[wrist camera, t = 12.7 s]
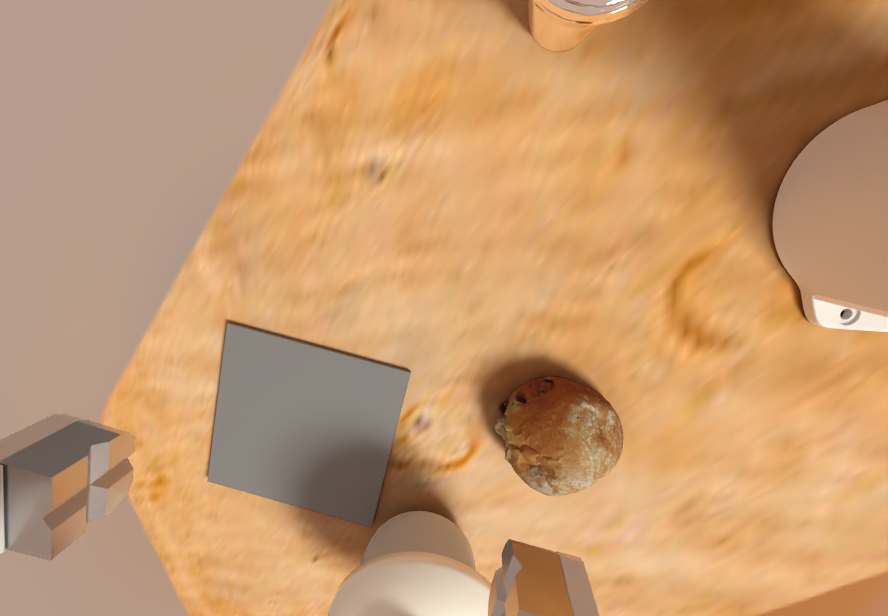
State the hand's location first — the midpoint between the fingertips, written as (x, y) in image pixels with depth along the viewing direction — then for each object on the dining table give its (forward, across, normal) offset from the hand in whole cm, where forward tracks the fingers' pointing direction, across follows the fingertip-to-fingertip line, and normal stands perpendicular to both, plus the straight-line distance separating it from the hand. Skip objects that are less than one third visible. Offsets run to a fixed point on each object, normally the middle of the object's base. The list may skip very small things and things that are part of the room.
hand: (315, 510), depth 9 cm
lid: (+19, -6, +26) cm, 33 cm away
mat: (+27, +9, +17) cm, 33 cm away
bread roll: (+28, -13, +10) cm, 32 cm away
